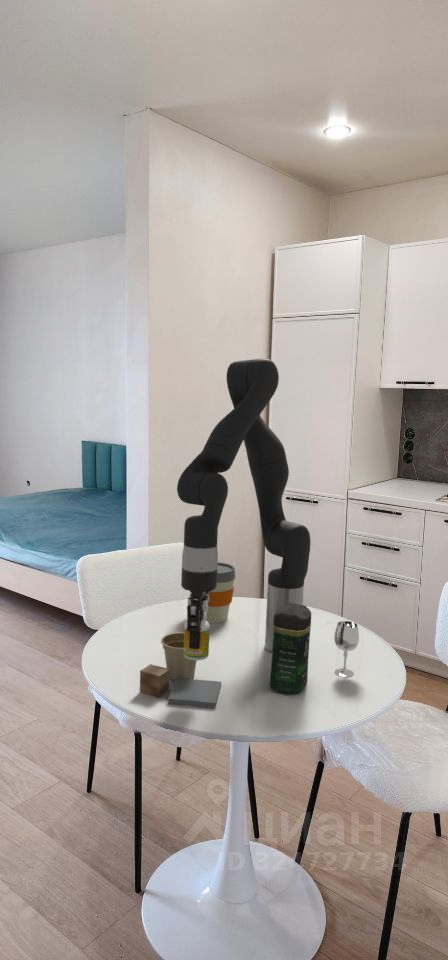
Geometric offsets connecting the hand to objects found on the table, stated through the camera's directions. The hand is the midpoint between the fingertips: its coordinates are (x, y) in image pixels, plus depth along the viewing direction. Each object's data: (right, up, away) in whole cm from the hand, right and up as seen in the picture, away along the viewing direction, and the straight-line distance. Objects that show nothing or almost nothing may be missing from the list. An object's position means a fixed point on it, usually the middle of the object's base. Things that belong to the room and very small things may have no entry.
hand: (196, 642), depth 135 cm
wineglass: (+35, -11, +16) cm, 40 cm away
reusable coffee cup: (+2, -6, +50) cm, 50 cm away
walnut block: (-9, -11, +2) cm, 15 cm away
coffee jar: (+20, -12, +7) cm, 25 cm away
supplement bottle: (0, -3, 0) cm, 3 cm away
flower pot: (-4, -11, +11) cm, 16 cm away
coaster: (0, -12, +1) cm, 12 cm away
